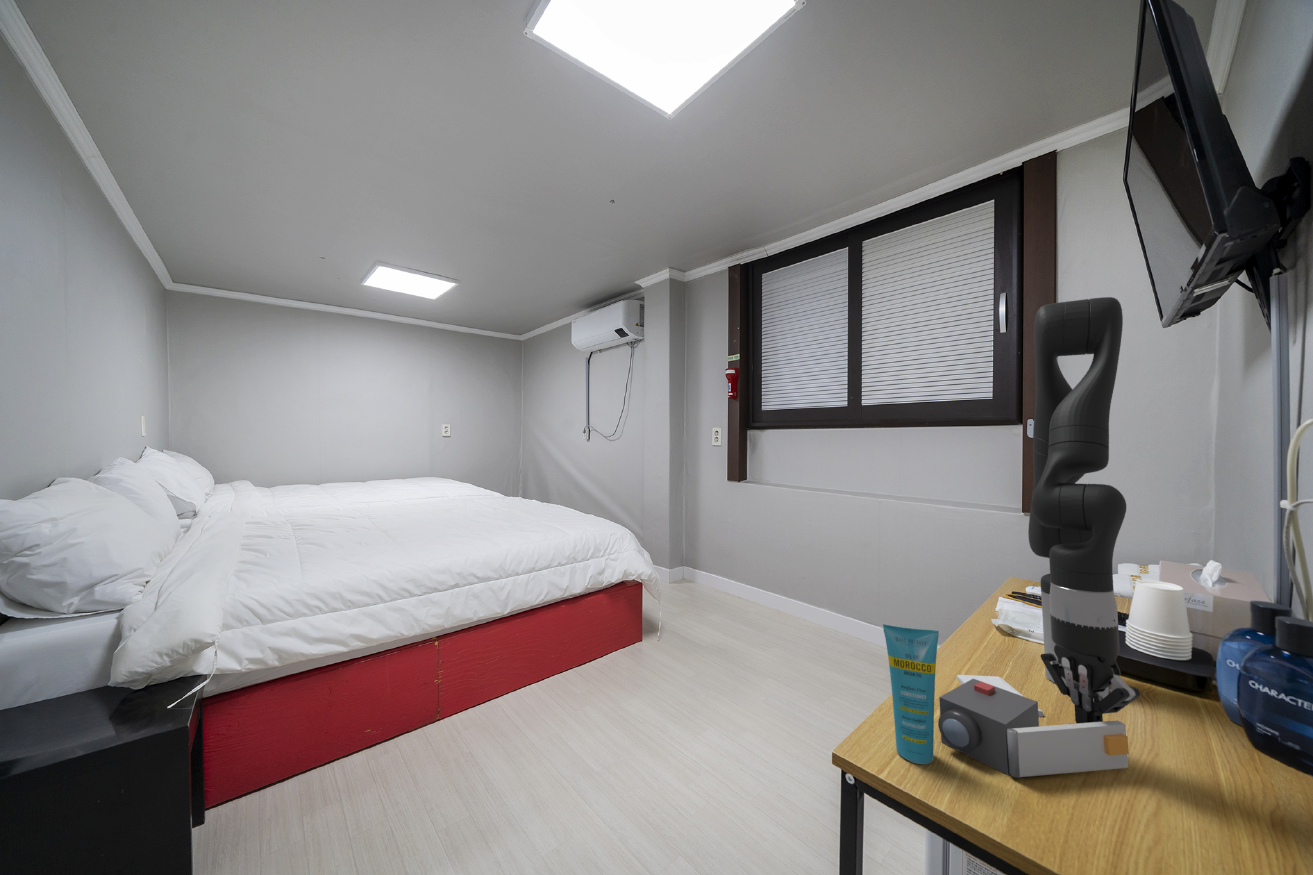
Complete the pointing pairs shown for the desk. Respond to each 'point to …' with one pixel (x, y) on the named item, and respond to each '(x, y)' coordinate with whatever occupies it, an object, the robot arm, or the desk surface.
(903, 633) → the tube
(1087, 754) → the door
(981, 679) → the external hard drive
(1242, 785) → the desk surface
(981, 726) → the camera body
